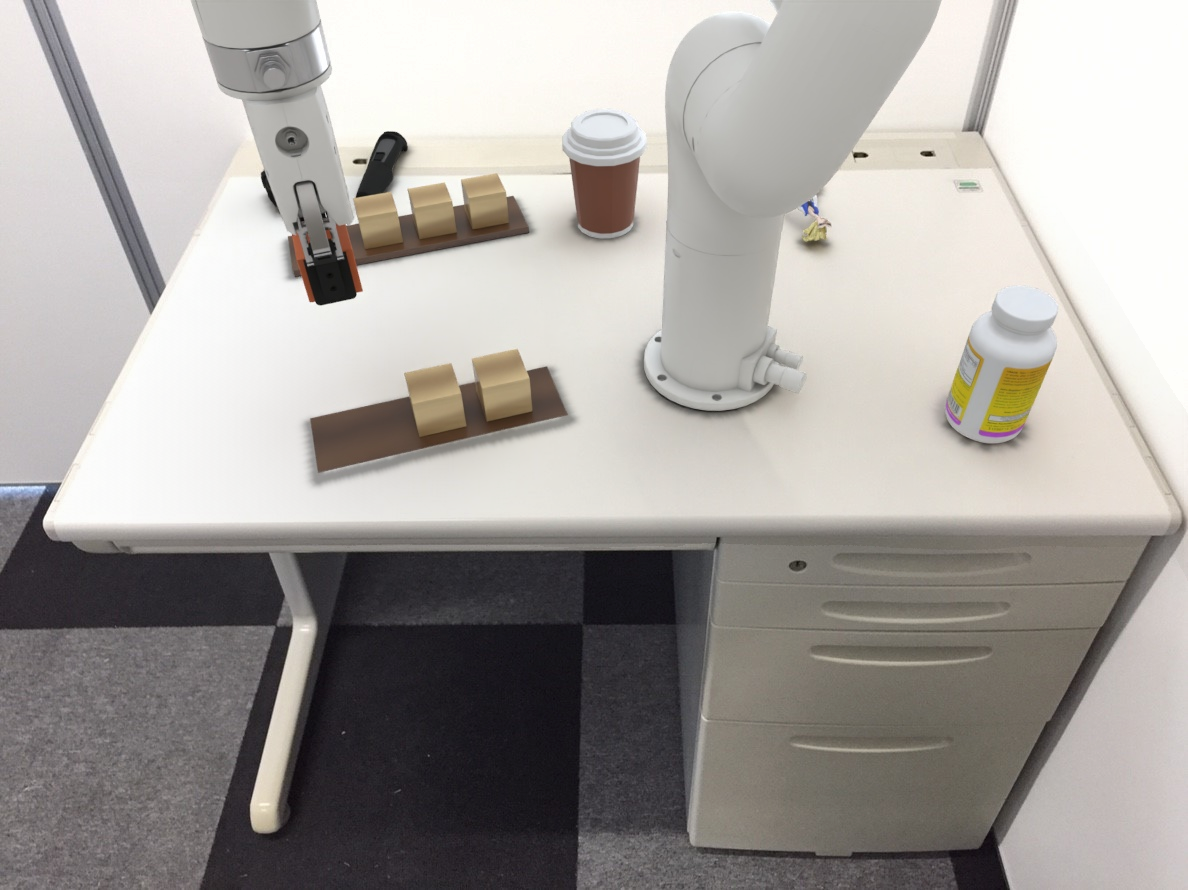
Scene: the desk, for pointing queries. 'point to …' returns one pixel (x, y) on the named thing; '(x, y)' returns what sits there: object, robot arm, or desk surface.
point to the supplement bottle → (1003, 365)
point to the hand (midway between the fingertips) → (332, 280)
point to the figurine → (819, 225)
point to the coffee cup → (604, 170)
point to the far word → (431, 220)
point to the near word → (439, 411)
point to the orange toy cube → (346, 247)
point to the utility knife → (382, 164)
